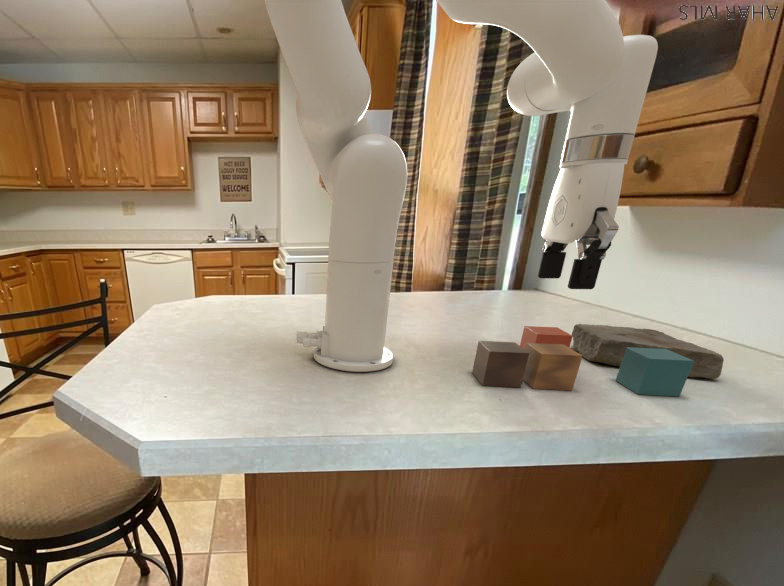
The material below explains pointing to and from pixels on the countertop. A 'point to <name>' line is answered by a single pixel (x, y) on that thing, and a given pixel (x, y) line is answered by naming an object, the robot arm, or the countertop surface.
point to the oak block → (551, 366)
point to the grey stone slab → (613, 342)
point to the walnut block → (500, 364)
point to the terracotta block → (545, 336)
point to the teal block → (654, 371)
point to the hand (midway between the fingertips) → (563, 283)
